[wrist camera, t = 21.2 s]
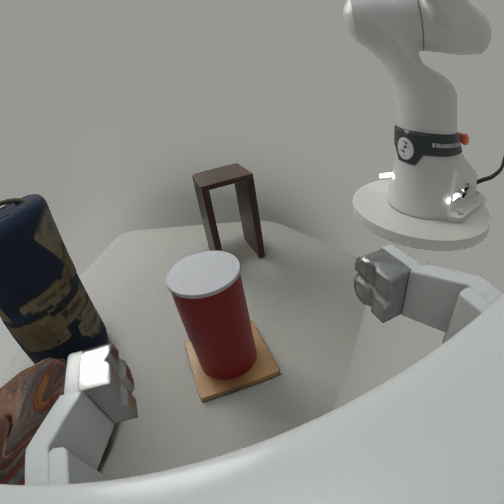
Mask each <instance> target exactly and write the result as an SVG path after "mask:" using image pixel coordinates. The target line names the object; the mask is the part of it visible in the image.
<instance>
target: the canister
mask: <svg viewBox="0 0 504 504" xmlns="http://www.w3.org/2000/svg"><path fill="white" fill-rule="evenodd" d="M5 204H7V205H5ZM1 205H5V206H4V207H2V208H0V317H1V319H2V321H3V322H4V324H5V326H6V327H7V329H8V330H9V331H10V333H11V334H12V336H13V337H14V338H15V340H16V341H17V342H18V344H19V345H20V346H21V348H22V349H23V350H24V351H25V353H26V354H27V355H28V356H29V357H30V359H31V360H32V361H33V362H34V364H37V363H38V362H40V361H42V360H44V359H47V358H55V359H58V360H60V361H61V362H63V363H64V364H65V365H66V366H67V359H68V356H69V355H70V354H71V353H75V352H79V351H83V350H86V349H90V348H94V347H98V346H102V345H105V344H106V342H107V332H106V328H105V325H104V323H103V321H102V320H101V318H100V316H99V314H98V312H97V311H96V309H95V307H94V305H93V303H92V301H91V300H90V298H89V296H88V294H87V292H86V290H85V288H84V286H83V284H82V282H81V280H80V279H79V277H78V275H77V273H76V269H75V266H74V264H73V262H72V260H71V258H70V256H69V254H68V252H67V250H66V247H65V245H64V243H63V241H62V238H61V236H60V234H59V231H58V229H57V226H56V224H55V222H54V220H53V217H52V215H51V212H50V210H49V207H48V205H47V202H46V200H45V199H44V198H43V197H42V196H40V195H37V194H34V195H27V196H25V197H22V198H13V199H6V200H3V201H0V206H1Z"/></svg>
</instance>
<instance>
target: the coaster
mask: <svg viewBox="0 0 504 504" xmlns="http://www.w3.org/2000/svg"><path fill="white" fill-rule="evenodd" d="M250 323H251V328H252V332H253V337H254V342H255V346H256V351H257V357H256V361H255V363H254V365H253V366H252V367H251V369H250V370H248V371H247V372H246V373H245V374H243V375H241V376H239V377H236V378H233V379H217V378H213V377H211V376H209V375H208V374H206V373H205V372H204V371H203V369H202V367H201V365H200V363H199V360H198V358H197V356H196V353H195V351H194V349H193V346H192V344H191V341H188V342H185V347H186V350H187V354H188V358H189V361H190V365H191V368H192V372H193V375H194V379H195V382H196V385H197V389H198V392H199V395H200V399H201V400H202V402H204V401H207V400H211V399H214V398H217V397H220V396H223V395H226V394H229V393H232V392H234V391H237V390H240V389H243V388H246V387H248V386H251V385H254V384H257V383H259V382H262V381H264V380H267V379H270V378H272V377H275V376H277V375H280V369H279V368H278V366H277V364H276V362H275V361H274V359H273V357H272V355H271V353H270V352H269V350H268V348H267V346H266V345H265V343H264V341H263V339H262V337H261V336H260V334H259V332H258V330H257V329H256V327H255V325H254V323H253V321H252V320H250Z"/></svg>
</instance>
